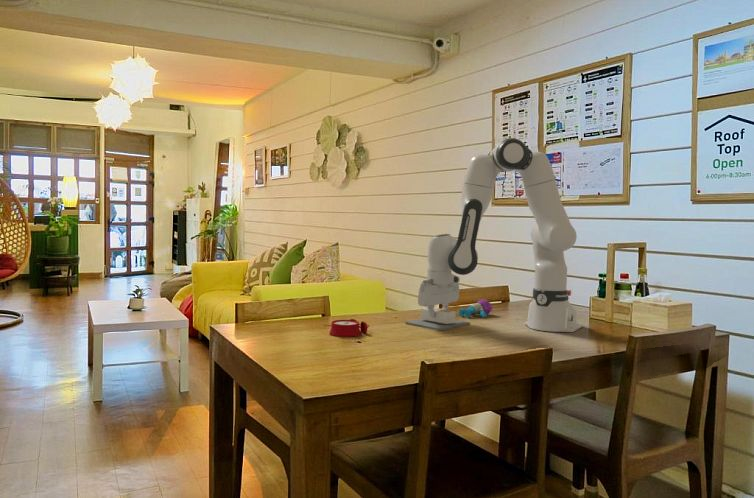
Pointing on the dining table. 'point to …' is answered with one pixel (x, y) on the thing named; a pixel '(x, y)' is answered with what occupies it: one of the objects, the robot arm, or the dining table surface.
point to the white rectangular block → (438, 315)
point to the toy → (477, 309)
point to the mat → (436, 324)
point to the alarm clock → (347, 328)
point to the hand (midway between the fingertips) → (438, 316)
